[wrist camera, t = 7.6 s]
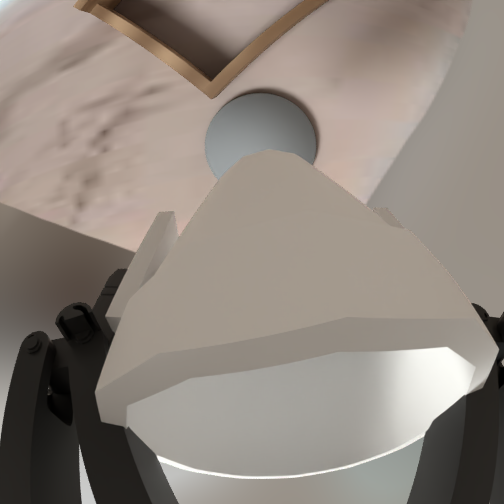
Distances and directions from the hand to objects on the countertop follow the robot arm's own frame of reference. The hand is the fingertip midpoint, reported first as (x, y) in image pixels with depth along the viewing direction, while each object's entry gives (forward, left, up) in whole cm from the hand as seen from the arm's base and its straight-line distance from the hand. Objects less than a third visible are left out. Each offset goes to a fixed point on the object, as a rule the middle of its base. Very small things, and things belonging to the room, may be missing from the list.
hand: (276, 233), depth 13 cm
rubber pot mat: (0, 0, -20) cm, 20 cm away
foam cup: (0, 0, -4) cm, 4 cm away
